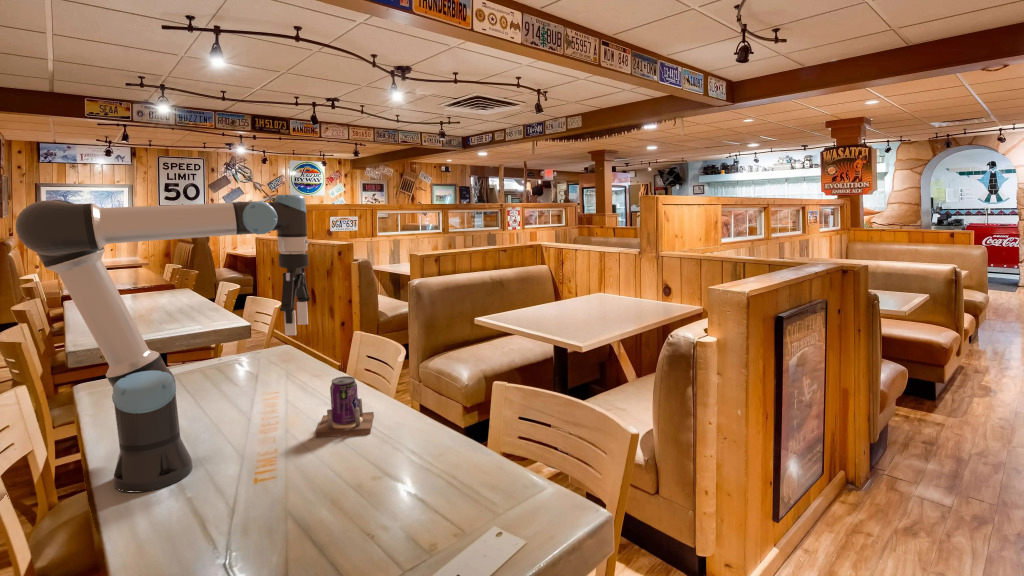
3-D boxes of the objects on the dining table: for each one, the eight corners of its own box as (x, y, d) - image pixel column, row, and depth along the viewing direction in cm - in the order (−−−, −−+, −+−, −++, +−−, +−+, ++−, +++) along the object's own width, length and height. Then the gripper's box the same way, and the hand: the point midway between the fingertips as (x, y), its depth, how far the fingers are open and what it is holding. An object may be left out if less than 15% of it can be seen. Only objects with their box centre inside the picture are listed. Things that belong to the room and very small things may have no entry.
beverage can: (351, 427, 151) (348, 384, 149) (327, 425, 152) (324, 383, 150) (363, 417, 158) (361, 376, 156) (340, 415, 159) (337, 375, 157)
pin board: (370, 433, 151) (369, 410, 150) (316, 437, 148) (314, 414, 147) (373, 416, 162) (372, 395, 161) (323, 420, 160) (322, 398, 159)
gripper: (296, 256, 139) (300, 339, 142) (317, 248, 164) (320, 320, 167) (264, 256, 138) (269, 340, 141) (290, 249, 163) (294, 320, 166)
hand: (297, 329), depth 154 cm, fingers open, 13 cm apart
